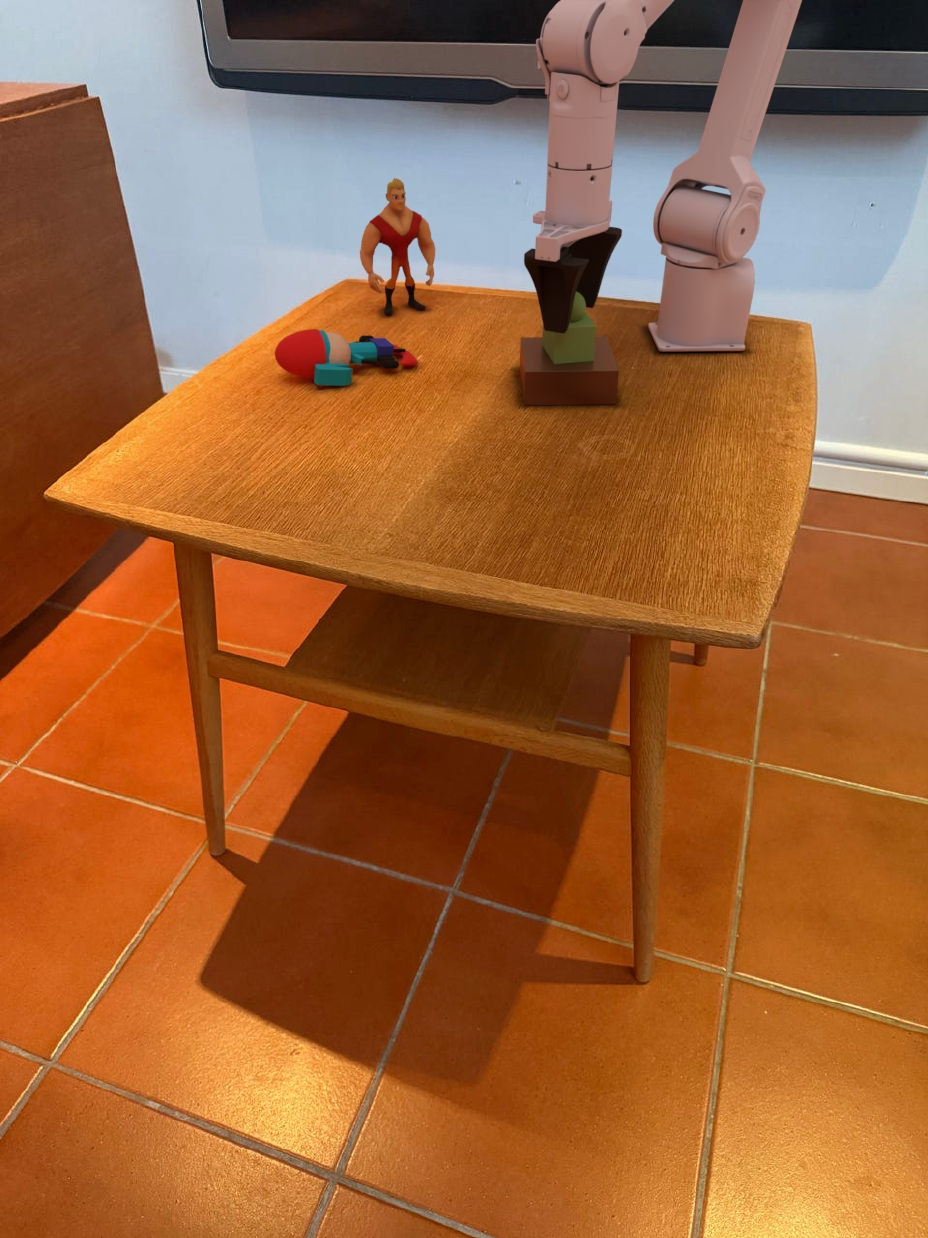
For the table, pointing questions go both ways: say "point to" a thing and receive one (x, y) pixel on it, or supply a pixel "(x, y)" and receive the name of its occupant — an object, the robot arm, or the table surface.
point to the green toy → (572, 337)
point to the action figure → (397, 244)
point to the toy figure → (335, 355)
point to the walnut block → (567, 376)
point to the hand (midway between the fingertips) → (570, 317)
